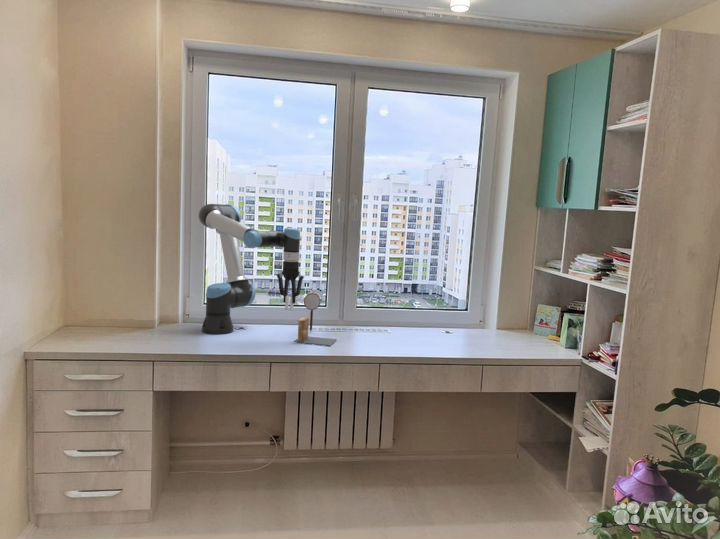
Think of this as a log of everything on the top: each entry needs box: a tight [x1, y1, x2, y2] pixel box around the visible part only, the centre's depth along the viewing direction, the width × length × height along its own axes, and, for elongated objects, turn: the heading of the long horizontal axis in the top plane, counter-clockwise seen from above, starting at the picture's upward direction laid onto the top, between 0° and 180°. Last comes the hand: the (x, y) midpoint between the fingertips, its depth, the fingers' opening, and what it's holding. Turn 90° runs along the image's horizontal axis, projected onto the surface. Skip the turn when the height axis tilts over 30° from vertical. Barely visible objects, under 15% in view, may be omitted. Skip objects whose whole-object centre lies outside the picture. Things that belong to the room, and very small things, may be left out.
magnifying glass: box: [303, 292, 322, 332], centre depth 268 cm, size 9×2×20 cm, turn 99°
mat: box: [293, 335, 338, 347], centre depth 249 cm, size 18×12×1 cm, turn 79°
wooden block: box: [297, 317, 310, 342], centre depth 249 cm, size 3×7×10 cm, turn 169°
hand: (289, 309), depth 249 cm, fingers open, 2 cm apart
